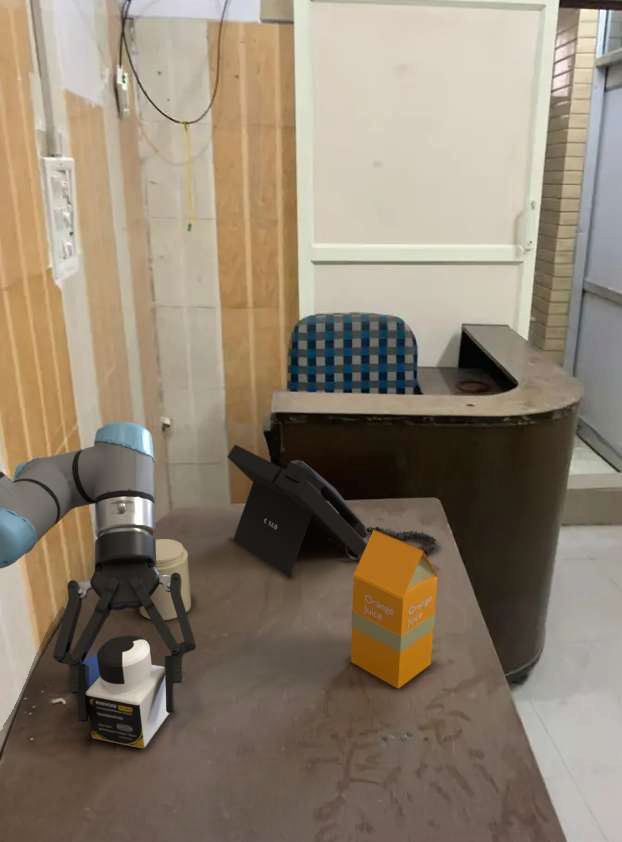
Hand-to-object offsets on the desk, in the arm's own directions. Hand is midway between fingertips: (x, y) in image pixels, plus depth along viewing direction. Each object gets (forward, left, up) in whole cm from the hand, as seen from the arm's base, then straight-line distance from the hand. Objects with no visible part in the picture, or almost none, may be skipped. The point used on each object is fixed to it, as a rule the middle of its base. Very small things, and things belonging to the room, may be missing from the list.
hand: (127, 716), depth 91 cm
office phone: (+33, +47, -4) cm, 58 cm away
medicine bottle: (0, +3, -4) cm, 5 cm away
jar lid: (-4, +13, -3) cm, 14 cm away
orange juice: (+35, +10, -4) cm, 37 cm away
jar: (+3, +30, -4) cm, 31 cm away
